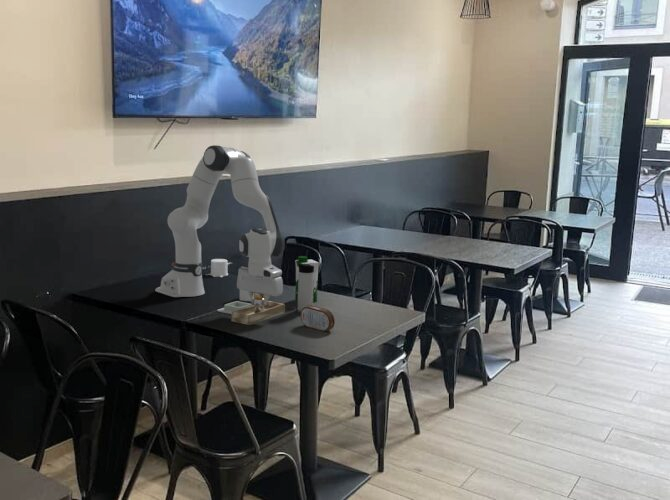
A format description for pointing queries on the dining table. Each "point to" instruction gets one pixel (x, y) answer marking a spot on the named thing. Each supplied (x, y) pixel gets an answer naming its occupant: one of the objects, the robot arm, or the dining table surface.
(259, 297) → the cell
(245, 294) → the medicine bottle
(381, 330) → the dining table surface
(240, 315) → the trough
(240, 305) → the checker cradle
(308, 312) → the tin
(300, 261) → the milk carton
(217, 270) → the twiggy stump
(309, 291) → the travel mug
